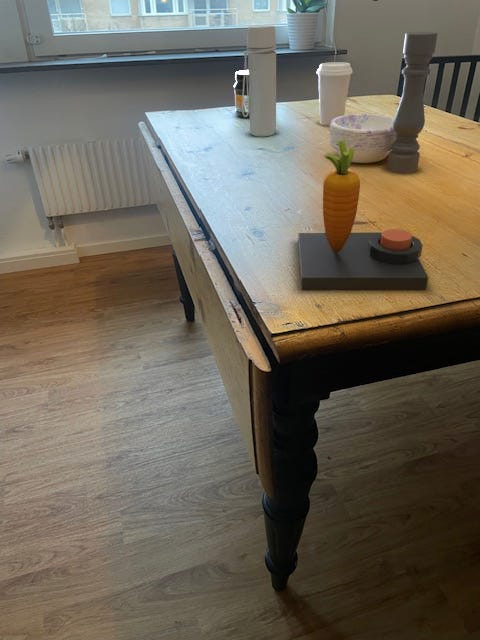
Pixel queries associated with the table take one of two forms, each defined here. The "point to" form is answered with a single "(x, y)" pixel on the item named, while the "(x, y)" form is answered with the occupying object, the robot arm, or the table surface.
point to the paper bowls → (363, 136)
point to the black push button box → (359, 264)
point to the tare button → (396, 239)
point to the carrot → (340, 198)
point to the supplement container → (239, 92)
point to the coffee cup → (333, 90)
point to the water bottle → (261, 80)
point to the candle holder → (411, 102)
